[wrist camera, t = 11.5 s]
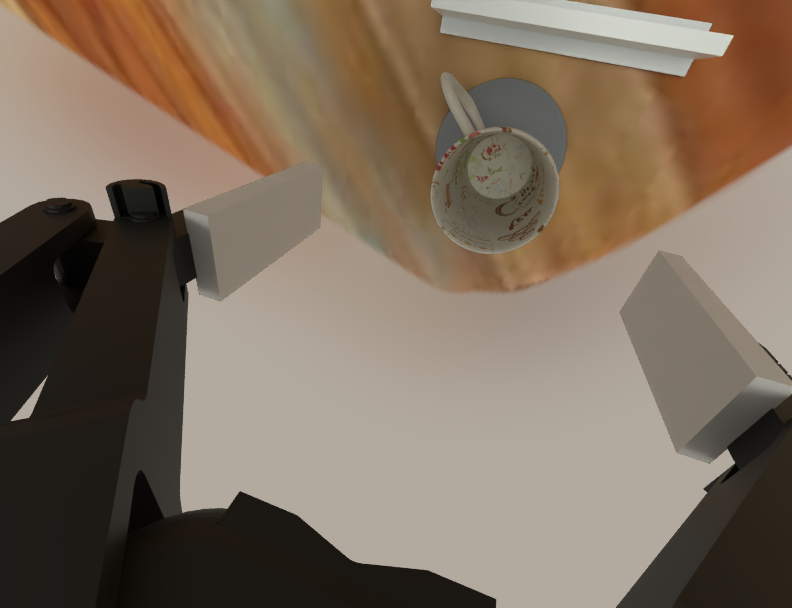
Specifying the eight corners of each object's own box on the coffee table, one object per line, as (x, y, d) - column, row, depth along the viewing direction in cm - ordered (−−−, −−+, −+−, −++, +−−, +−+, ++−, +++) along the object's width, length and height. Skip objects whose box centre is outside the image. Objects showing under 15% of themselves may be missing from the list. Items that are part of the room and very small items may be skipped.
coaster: (453, 66, 30) (452, 66, 29) (590, 93, 28) (591, 93, 27) (425, 197, 36) (424, 198, 35) (536, 225, 34) (536, 226, 34)
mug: (480, 228, 35) (467, 272, 27) (410, 109, 32) (371, 120, 24) (566, 182, 31) (581, 218, 23) (497, 38, 27) (486, 22, 19)
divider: (450, -17, 27) (437, -34, 23) (708, 24, 24) (745, 13, 20) (441, 33, 29) (427, 25, 25) (681, 76, 26) (711, 76, 22)
